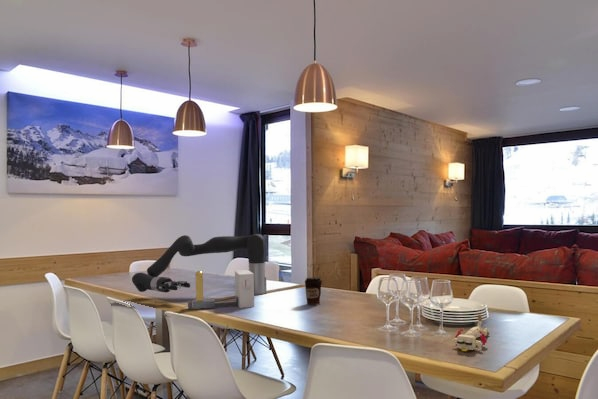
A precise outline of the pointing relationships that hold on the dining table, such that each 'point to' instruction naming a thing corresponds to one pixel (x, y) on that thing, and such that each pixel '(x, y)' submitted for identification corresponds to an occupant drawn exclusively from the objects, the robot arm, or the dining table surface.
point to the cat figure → (471, 337)
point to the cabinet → (244, 288)
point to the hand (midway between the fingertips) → (183, 286)
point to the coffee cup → (313, 290)
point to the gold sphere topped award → (201, 294)
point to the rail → (216, 304)
